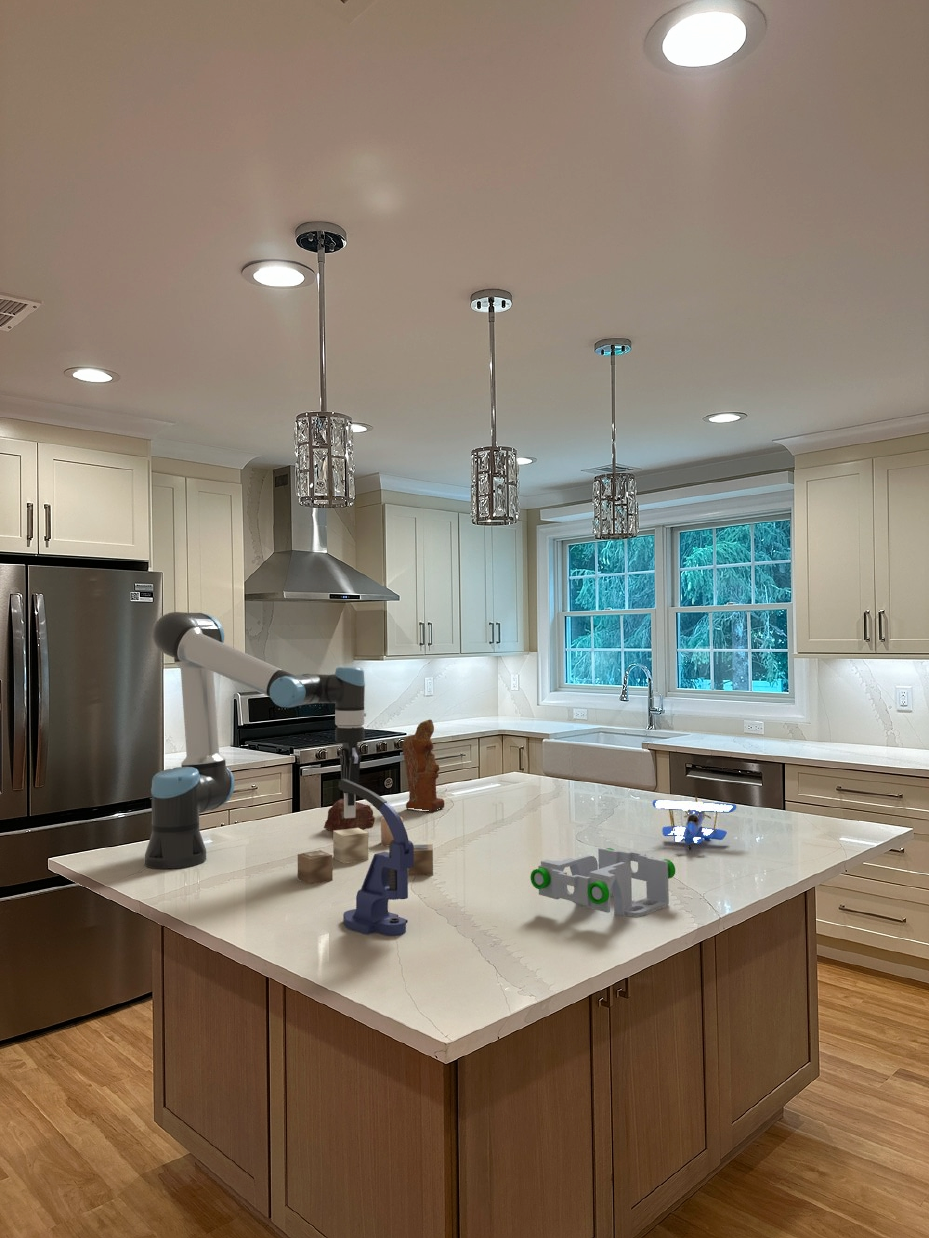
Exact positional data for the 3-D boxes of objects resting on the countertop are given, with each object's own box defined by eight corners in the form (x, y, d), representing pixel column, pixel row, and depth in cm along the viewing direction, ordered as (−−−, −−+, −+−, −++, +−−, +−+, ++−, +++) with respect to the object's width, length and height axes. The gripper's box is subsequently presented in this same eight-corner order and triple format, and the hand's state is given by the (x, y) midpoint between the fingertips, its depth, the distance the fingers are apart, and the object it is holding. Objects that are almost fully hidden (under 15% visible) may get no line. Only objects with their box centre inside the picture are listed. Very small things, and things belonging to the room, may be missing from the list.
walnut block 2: (408, 875, 207) (407, 849, 207) (408, 869, 213) (408, 844, 213) (433, 875, 207) (432, 849, 207) (432, 868, 213) (432, 843, 213)
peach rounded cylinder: (384, 846, 237) (384, 820, 237) (378, 842, 242) (378, 816, 242) (405, 844, 239) (405, 818, 239) (398, 839, 245) (398, 815, 245)
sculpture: (448, 808, 289) (447, 719, 290) (433, 813, 282) (432, 721, 283) (416, 805, 296) (415, 717, 297) (400, 809, 289) (400, 719, 290)
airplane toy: (724, 882, 223) (731, 837, 219) (638, 861, 230) (644, 817, 226) (731, 835, 246) (738, 794, 242) (653, 817, 253) (658, 776, 249)
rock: (376, 834, 252) (377, 803, 253) (361, 838, 247) (361, 806, 248) (334, 826, 264) (334, 796, 264) (318, 829, 259) (318, 799, 259)
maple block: (342, 863, 219) (342, 835, 219) (333, 857, 225) (333, 830, 225) (368, 860, 222) (368, 832, 223) (358, 854, 229) (358, 827, 229)
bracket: (530, 911, 178) (530, 863, 178) (603, 886, 196) (603, 842, 196) (604, 932, 165) (604, 880, 165) (676, 903, 182) (675, 856, 183)
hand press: (423, 929, 167) (422, 784, 168) (391, 942, 161) (390, 791, 161) (357, 911, 180) (356, 776, 180) (324, 922, 173) (323, 781, 174)
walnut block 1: (309, 885, 200) (309, 858, 200) (297, 879, 205) (297, 853, 205) (332, 880, 204) (332, 854, 204) (320, 875, 208) (320, 849, 208)
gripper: (371, 728, 220) (370, 821, 220) (357, 723, 232) (356, 811, 232) (342, 729, 217) (341, 823, 217) (329, 724, 229) (329, 813, 229)
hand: (349, 817), depth 224 cm, fingers closed
